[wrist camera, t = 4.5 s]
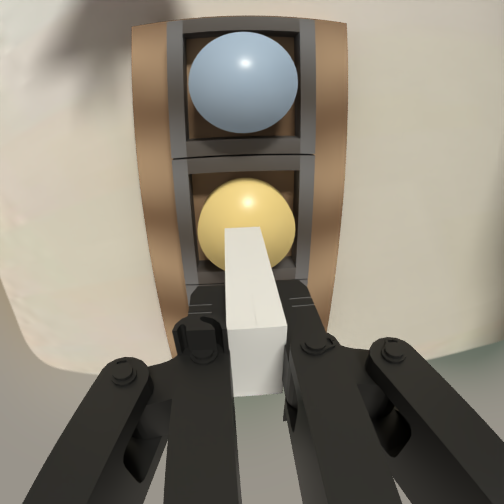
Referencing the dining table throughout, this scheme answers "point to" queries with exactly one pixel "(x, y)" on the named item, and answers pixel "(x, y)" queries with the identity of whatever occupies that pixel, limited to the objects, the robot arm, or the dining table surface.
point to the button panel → (239, 153)
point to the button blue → (243, 82)
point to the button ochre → (246, 218)
